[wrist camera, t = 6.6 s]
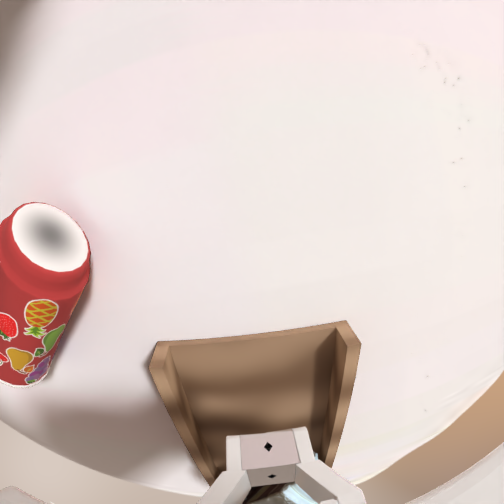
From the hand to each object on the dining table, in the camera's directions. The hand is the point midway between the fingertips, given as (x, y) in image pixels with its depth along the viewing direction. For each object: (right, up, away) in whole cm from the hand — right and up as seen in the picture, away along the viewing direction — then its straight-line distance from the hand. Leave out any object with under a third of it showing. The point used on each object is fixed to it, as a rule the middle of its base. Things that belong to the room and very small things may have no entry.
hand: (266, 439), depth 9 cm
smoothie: (-12, +8, +3) cm, 15 cm away
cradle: (0, -9, +14) cm, 17 cm away
